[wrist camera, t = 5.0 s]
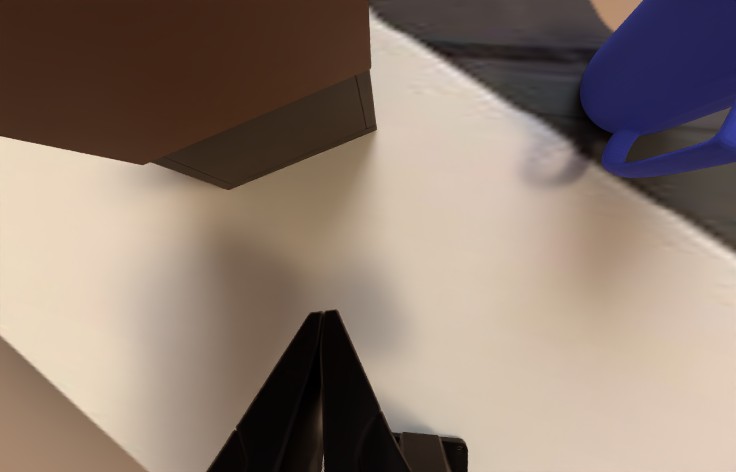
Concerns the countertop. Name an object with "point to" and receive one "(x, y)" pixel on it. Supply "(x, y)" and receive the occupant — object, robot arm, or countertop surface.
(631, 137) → the mug
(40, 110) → the brown square block
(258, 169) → the storage box
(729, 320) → the countertop surface
